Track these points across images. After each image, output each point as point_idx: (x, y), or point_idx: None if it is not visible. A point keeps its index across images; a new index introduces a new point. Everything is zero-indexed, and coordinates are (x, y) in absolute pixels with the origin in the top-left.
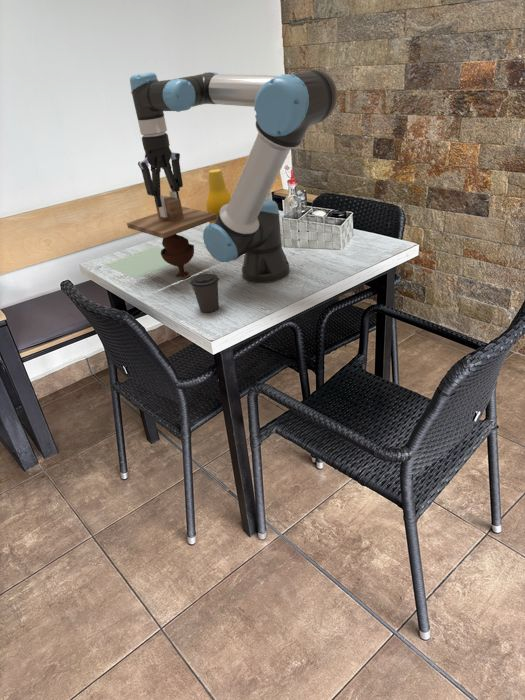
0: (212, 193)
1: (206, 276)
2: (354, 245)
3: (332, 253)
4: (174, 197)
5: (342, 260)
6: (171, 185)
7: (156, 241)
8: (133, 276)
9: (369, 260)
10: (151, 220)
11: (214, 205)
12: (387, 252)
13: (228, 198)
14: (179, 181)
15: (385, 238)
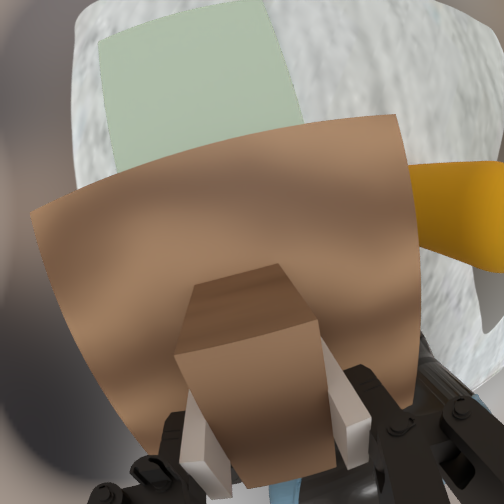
0: None
1: (231, 474)
2: (499, 326)
3: (476, 338)
4: (334, 434)
5: (461, 369)
6: (397, 465)
7: None
8: (121, 171)
9: (468, 383)
10: (145, 285)
11: (484, 256)
12: (489, 370)
13: None
14: (453, 480)
15: None
